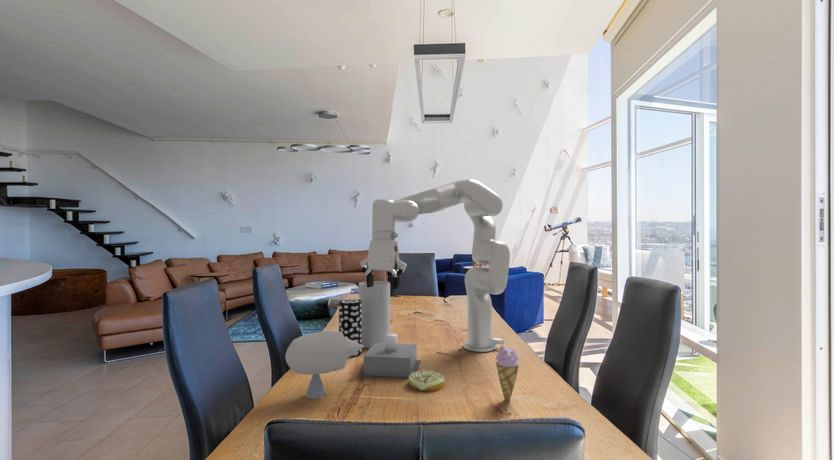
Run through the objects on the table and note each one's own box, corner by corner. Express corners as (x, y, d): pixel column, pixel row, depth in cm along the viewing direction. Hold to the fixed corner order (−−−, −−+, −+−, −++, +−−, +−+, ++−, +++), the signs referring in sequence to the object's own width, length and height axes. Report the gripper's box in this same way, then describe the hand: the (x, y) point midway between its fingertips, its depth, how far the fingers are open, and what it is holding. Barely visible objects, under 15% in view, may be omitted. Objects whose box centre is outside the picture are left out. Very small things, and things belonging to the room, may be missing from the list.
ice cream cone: (492, 395, 112) (492, 342, 112) (514, 394, 113) (514, 341, 113) (499, 405, 106) (499, 349, 105) (522, 404, 106) (522, 348, 106)
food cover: (416, 361, 140) (416, 330, 140) (410, 377, 125) (410, 342, 125) (374, 359, 142) (374, 328, 142) (363, 375, 127) (363, 340, 127)
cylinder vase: (396, 343, 164) (396, 282, 164) (377, 351, 153) (377, 286, 153) (372, 339, 170) (372, 280, 170) (352, 346, 160) (352, 283, 160)
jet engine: (353, 406, 105) (352, 340, 105) (279, 404, 107) (279, 338, 107) (365, 384, 120) (365, 326, 120) (300, 382, 122) (300, 325, 122)
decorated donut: (422, 397, 111) (422, 384, 111) (401, 385, 120) (401, 372, 120) (451, 388, 117) (451, 376, 117) (429, 377, 126) (429, 365, 126)
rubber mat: (421, 361, 141) (421, 360, 141) (414, 380, 123) (414, 379, 123) (371, 359, 143) (371, 358, 143) (357, 377, 126) (357, 376, 126)
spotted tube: (357, 359, 144) (356, 303, 144) (335, 357, 145) (335, 303, 145) (364, 352, 152) (364, 299, 152) (344, 351, 153) (343, 299, 153)
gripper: (411, 237, 133) (410, 288, 132) (367, 236, 140) (366, 285, 140) (401, 237, 126) (400, 291, 126) (355, 236, 133) (354, 287, 133)
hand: (382, 288), depth 133 cm, fingers open, 9 cm apart
